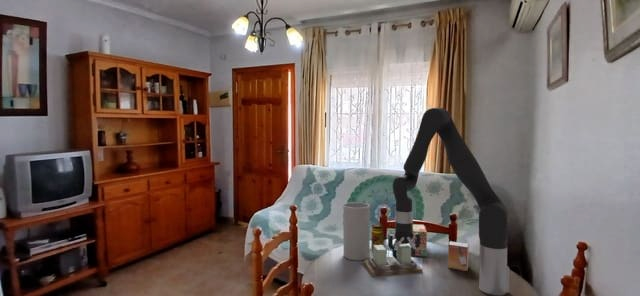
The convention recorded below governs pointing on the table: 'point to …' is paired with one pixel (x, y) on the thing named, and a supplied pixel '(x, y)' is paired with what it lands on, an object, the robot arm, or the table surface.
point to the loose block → (404, 254)
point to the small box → (458, 255)
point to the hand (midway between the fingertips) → (403, 257)
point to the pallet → (391, 267)
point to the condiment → (377, 235)
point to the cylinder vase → (356, 231)
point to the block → (379, 255)
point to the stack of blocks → (423, 239)
